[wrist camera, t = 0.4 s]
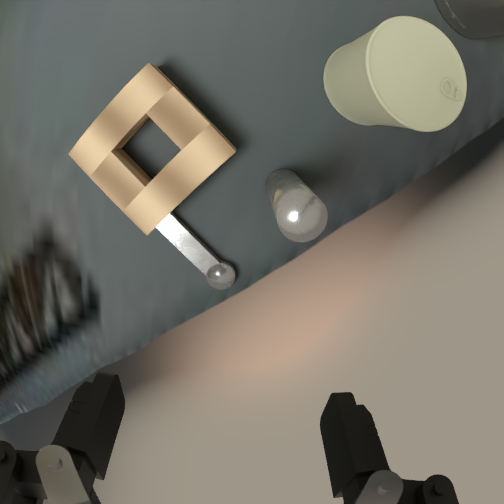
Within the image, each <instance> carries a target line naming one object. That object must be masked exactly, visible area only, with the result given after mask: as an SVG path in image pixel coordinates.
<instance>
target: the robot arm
mask: <svg viewBox="0 0 504 504" xmlns="http://www.w3.org/2000/svg"><path fill="white" fill-rule="evenodd" d="M436 3H437V6H438V8H439V10H440V12H441V14H442V15H443V17H444V18H445V20H446V21H447V22H448V23H449V25H450V26H451V27H452V28H453V29H454V30H456V31H457V32H458V33H460V34H461V35H463V36H465V37H467V38H470V39H480V38H486V37H492V36H499V35H504V0H436ZM124 409H125V398H124V394H123V391H122V387H121V383H120V379H119V376H118V375H117V374H113V373H107V372H103V371H99V372H98V373H97V374H96V376H95V379H94V381H93V383H91V382H84V383H83V384H82V385H81V386H80V387H79V388H78V389H77V390H76V392H75V394H74V396H73V398H72V402H70V404H69V406H68V410H67V411H66V413H65V415H64V418H63V420H62V422H61V424H60V427H59V429H58V431H57V433H56V436H55V438H54V440H53V442H52V443H51V444H50V445H48V446H45V447H43V448H42V449H41V450H40V451H23V450H15V449H14V447H13V446H12V445H11V444H10V443H8V442H6V441H0V504H43V500H44V499H48V500H49V503H50V504H101V502H100V500H99V498H98V496H97V494H96V492H95V490H94V488H93V484H94V480H95V478H97V479H100V480H104V478H105V475H106V471H107V467H108V464H109V460H110V457H111V453H112V450H113V447H114V443H115V440H116V436H117V433H118V430H119V427H120V423H121V420H122V417H123V414H124ZM320 430H321V435H322V440H323V445H324V450H325V455H326V460H327V465H328V471H329V476H330V481H331V486H332V492H333V497H334V498H338V497H343V500H344V504H459V503H458V499H457V496H456V493H455V490H454V487H453V484H452V482H451V481H450V479H448V478H447V477H445V476H443V475H433V476H430V477H429V478H428V479H427V480H425V481H415V480H405V479H401V478H400V477H399V476H398V475H397V474H396V473H394V472H392V471H391V470H390V468H389V466H388V463H387V460H386V457H385V454H384V451H383V447H382V445H381V441H380V439H379V436H378V432H377V429H376V427H375V423H374V421H373V418H372V415H371V413H370V412H369V411H368V410H367V409H366V407H365V406H364V405H356V402H355V399H354V396H353V394H352V393H351V392H344V393H332V394H331V395H330V397H329V400H328V402H327V404H326V407H325V409H324V411H323V413H322V416H321V420H320Z"/></svg>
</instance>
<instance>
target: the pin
mask: <svg viewBox="0 0 504 504" xmlns="http://www.w3.org/2000/svg"><path fill="white" fill-rule="evenodd" d="M265 188H266V192H267V195H268V198H269V200H270V203H271V206H272V209H273V212H274V215H275V217H276V220H277V223H278V226H279V229H280V230H281V232H282V233H283V235H284V236H285V237H287V238H288V239H290V240H292V241H296V242H307V241H310V240H313V239H315V238H316V237H318V236H319V235H320V234H321V233H322V231H323V230H324V228H325V226H326V224H327V218H328V216H327V210H326V207H325V205H324V204H323V202H322V201H321V200H320V199H319V198H318V197H317V196H316V195H315V194H314V193H313V192H312V191H311V189H310V188H309V187H308V186H307V185H306V184H305V183H304V182H303V181H302V180H301V179H300V178H299V177H298V176H297V175H296V174H295V173H294V172H292V171H291V170H288V169H278V170H275V171H273V172H272V173H271V174H270V175H269V176H268V178H267V180H266V184H265Z"/></svg>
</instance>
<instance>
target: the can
mask: <svg viewBox="0 0 504 504" xmlns="http://www.w3.org/2000/svg"><path fill="white" fill-rule="evenodd" d="M323 80H324V87H325V91H326V94H327V96H328V99H329V100H330V102H331V104H332V105H333V107H334V108H335V109H336V110H337V111H338V112H339V113H340V114H341V115H342V116H344V117H345V118H347V119H348V120H350V121H352V122H354V123H357V124H361V125H387V126H396V127H403V128H410V129H413V130H416V131H421V132H433V131H438V130H441V129H443V128H445V127H447V126H448V125H450V124H451V123H452V122H453V121H454V120H455V119H456V118H457V117H458V115H459V114H460V112H461V110H462V108H463V105H464V103H465V99H466V92H467V81H466V73H465V69H464V65H463V63H462V60H461V58H460V55H459V53H458V52H457V50H456V48H455V47H454V45H453V44H452V42H451V41H450V40H449V39H448V37H447V36H446V35H445V34H444V33H443V32H441V31H440V30H439V29H438V28H437V27H435V26H434V25H432V24H430V23H429V22H427V21H424V20H422V19H419V18H416V17H410V16H398V17H393V18H390V19H388V20H385V21H384V22H382V23H381V24H380V25H378V26H377V27H376V28H374V29H373V30H371V31H370V32H368V33H366V34H365V35H363V36H361V37H360V38H358V39H356V40H355V41H353V42H351V43H350V44H346V45H344V46H342V47H340V48H338V49H337V50H336V51H335V52H333V54H332V55H331V56H330V57H329V59H328V61H327V63H326V66H325V69H324V76H323Z"/></svg>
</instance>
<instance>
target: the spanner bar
mask: <svg viewBox="0 0 504 504" xmlns="http://www.w3.org/2000/svg"><path fill="white" fill-rule="evenodd" d="M156 228H157V229H158V230H159V231H160V232H161V233H162V234H163V235H164V236H165V237H166V238H167V239H168V240H169V241H170V242H171V243H172V244H173V245H174V246H176V247H177V248H178V249H179V250H180V251H181V252H182V253H183V254H184V255H185V256H186V257H187V258H188V259H189V260H190V261H191V262H192V263H193V264H194V265H195V266H196V267H197V268H198V269H199V270H201V271H202V272H203V273H204V274H205V275H206V279H207V282H208V283H209V284H210V285H211V286H212V287H213V288H216V289H226V288H228V287H230V286H231V285H232V284H233V283H234V280H235V269H234V267H233V265H232V264H231V263H229V262H228V261H225V260H221V259H220V258H219V257H218V256H217V255H216V254H215V253H214V252H213V251H212V250H210V249H209V248H208V247H207V246H206V245H205V244H204V243H203V242H202V241H201V240H200V239H199V238H198V237H197V236H196V235H195V234H194V233H193V232H192V231H191V230H190V229H189V228H188V227H187V226H186V225H185V224H184V223H183V222H182V221H181V220H180V219H179V218H178V217H177V216H176V215H175V214H174V213H173V212H172V211H171V212H170V213H169V214H168V215H167V216H166V217H165V218H164V219H163V220H162V221H161V222H160V223H159V224H158V225H157V226H156Z"/></svg>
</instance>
